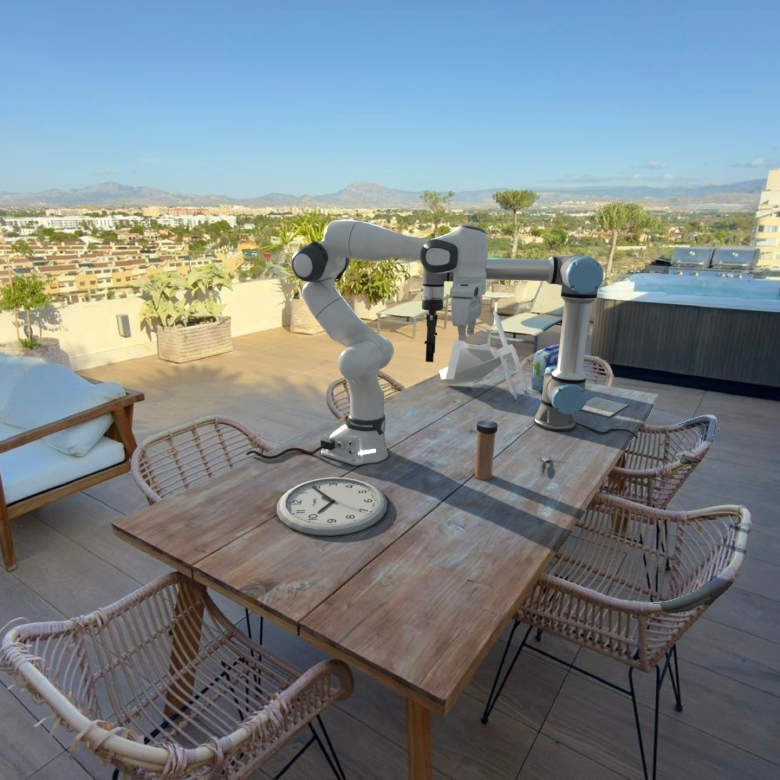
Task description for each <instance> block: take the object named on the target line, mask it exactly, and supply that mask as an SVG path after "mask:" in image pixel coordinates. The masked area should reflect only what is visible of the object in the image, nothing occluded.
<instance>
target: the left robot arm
mask: <svg viewBox="0 0 780 780" xmlns="http://www.w3.org/2000/svg"><path fill="white" fill-rule="evenodd" d="M488 256H489V240H488V234H487V231H486V230H485V229H484V228H481V227H479V226H476V225H475V226H474V225H469V224H461V225H458V227H456V228H455V229H454V230H452V231H450V232H448V233H446V234H443V235H440V236H437V237H434V238H431V239H429V238H424V237H418V236H410V235H405V234H403V233H401V232H397V231H394V230H391V229H389V228H385V227H383V226H381V225H377V224H374V223H371V222H366V221H361V220H353V219H337V220H332V221H330V222H329V223H328V224H327V225H326V227H325V228H324V231H323V238H322V239H321V240H320V241H319V242H318V241H315V240H313V241H312V242H310V243H307V244H306V245H303V246H301V247H299V248H298V249H297V250H296V251H295V252H294V253H293V255H292V257H291V261H290V262H291V263H290V266H291V270H292V272H293V274H294V275H295V277H297V279H298V280H300V281H303V282H305V284H304V285H303V287H302V289H301V297H302V299H303V301H304V303H305V305H306V307H307V308H308V311H310V313H311V314H312V316H313V317H314V319H315V320H316V322H317V323H318V324H319V325H320V327H321V328H322V329H323V330H324V332H325V334H327V336H328V337H329V338H330V339H331V340H332V341H334V342H337V343H339V344H340V345H342V346H343V347H344V348H345V349H344V350H343V351H342V352H341V353H340V354H339V356H338V359H337V367H338V370H339V372H340V374H341V375H342V376H343V377H344V378H345V381H346V384H347V386H348V392H349V411H348V413H347V414H345V416H344V417H343V418H342V422H345V423H344V424H342V425H341V426H339V427H337V429H335V430H333V432H331V434H330V435H329V437H324V438H322V439H320V446H319V447H316V448H315V449H313V450H312V451H310V450H306V449H304V448H300V447H290V448H286V449H284V450H282V451H280V452H279V453H277V454H275V455H265V454H263V453H261V452H260V451H257V450H255V449H253V450H252V449H251V450H249V451H247V452H246V453H245V455H246V456H250V455H251V454H255V455H257V456H259V457H261V458H263V459H266V460H272V459H276V458H277V459H278V458H279V457H282V456H283V455H285V454H287V453H289V452H293V451H294V452H295V451H296V452H301V453H304V454H307V455H314V454H316V453H317V452H320V455H321V456H323V457H326V458H329V459H332V460H336V461H339V462H342V463H345V464H349V465H352V466H361V465H366V464H373V463H379V462H382V461H384V460H386V459H387V458H388V457H389V451H388V448H387V443H386V437H385V436H386V434H385V431H386V414H385V391H384V390H383V388H382V387H381V386H380V380H379V371H381V370H383V369H385V368H386V367H387V366H388V365H389V364H390V362H391V361H392V360H393V358H394V354H395V348H394V344H393V343H392V342H391V341H390V339H388V338H387V337H386V336H383V335H380V334H379V333H378V332H376V331H375V330H374V329H373V328H372V327H370V326H369V325H368V323H365V322H364V321H363V320H362V319H361V318H360V317H359V315H357V314H356V312H355V310H354V309H353V308H352V307H351V306H350V304H349V303H348V301H346V300H345V298H344V297H343V296H342V294H341V293H340V291H338V289H337V287H336V283H338V282H340V281H341V279H342V278H343V275H344V274H345V272H346V271H347V269H348V268H349V265H350V261H351V260H354V261H355V260H356V261H360V262H381V261H387V260H393V259H410V260H417V261H420V263H421V265H422V268H423V267H424V268H425V269H426V270H427V271H429V272H431V273H434V274H442V273H448V272H453V274H454V278H453V282H452V286H451V287H450V289H449V297H451V304H450V305H451V309H450V310H451V323H452V326H453V327H457V333H458V339H459V341H464V342H465V341H466V340H467V335H468V336H473V335H474V334H475V328H476V324H477V319H478V318H480V317H481V315H482V307H483V306H482V305H483V297H482V296H485V295H486V287H487V279H486V271H485V267H486V263H487V259H488V258H489V257H488Z"/></svg>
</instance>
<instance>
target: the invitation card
mask: <svg viewBox="0 0 780 780" xmlns="http://www.w3.org/2000/svg"><path fill="white" fill-rule="evenodd" d="M628 406H629V404H627V403H623V402H618V401H614V400H609V399H605V398H601V397H596V396H593V397H592V398H590V399H587V401H586V404H585V406H584V407H583V408H582V409H581V410H580V411H584V412H587V413H593V414H596V415H600V416H604V417H608V418H609V417H611V416H613V415H614V414H616V413H617V412H619V411H621V410H623V409H624V408H626V407H628Z"/></svg>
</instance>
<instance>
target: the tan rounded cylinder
mask: <svg viewBox="0 0 780 780" xmlns="http://www.w3.org/2000/svg"><path fill="white" fill-rule="evenodd" d="M495 441H496V433H492V434H486V433H481V432H479V431H477V440H476V454H475V467H474V469H475V470H474V477H475V478H476V479H478V480H481V481H482V480H483V481H488V480H491V479H492V477H493V466H494V453H495V444H496V443H495Z"/></svg>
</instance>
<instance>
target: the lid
mask: <svg viewBox="0 0 780 780" xmlns="http://www.w3.org/2000/svg"><path fill="white" fill-rule="evenodd" d="M498 426H499V425H498V422H496V421H493V420H487V419H483V420H482V419H481V420H478V421H477V422H476V431H477V432H478V431H479V432H481V433H486V434H492V433H495V434H496V433H497V432H498V428H499V427H498Z"/></svg>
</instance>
